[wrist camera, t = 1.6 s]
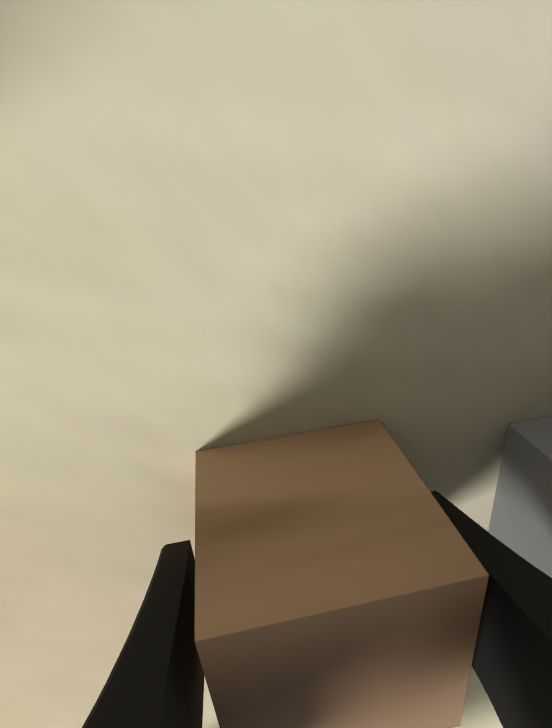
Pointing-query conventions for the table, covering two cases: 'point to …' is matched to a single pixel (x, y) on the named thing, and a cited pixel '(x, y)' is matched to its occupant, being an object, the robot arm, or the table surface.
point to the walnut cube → (330, 585)
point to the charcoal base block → (526, 493)
